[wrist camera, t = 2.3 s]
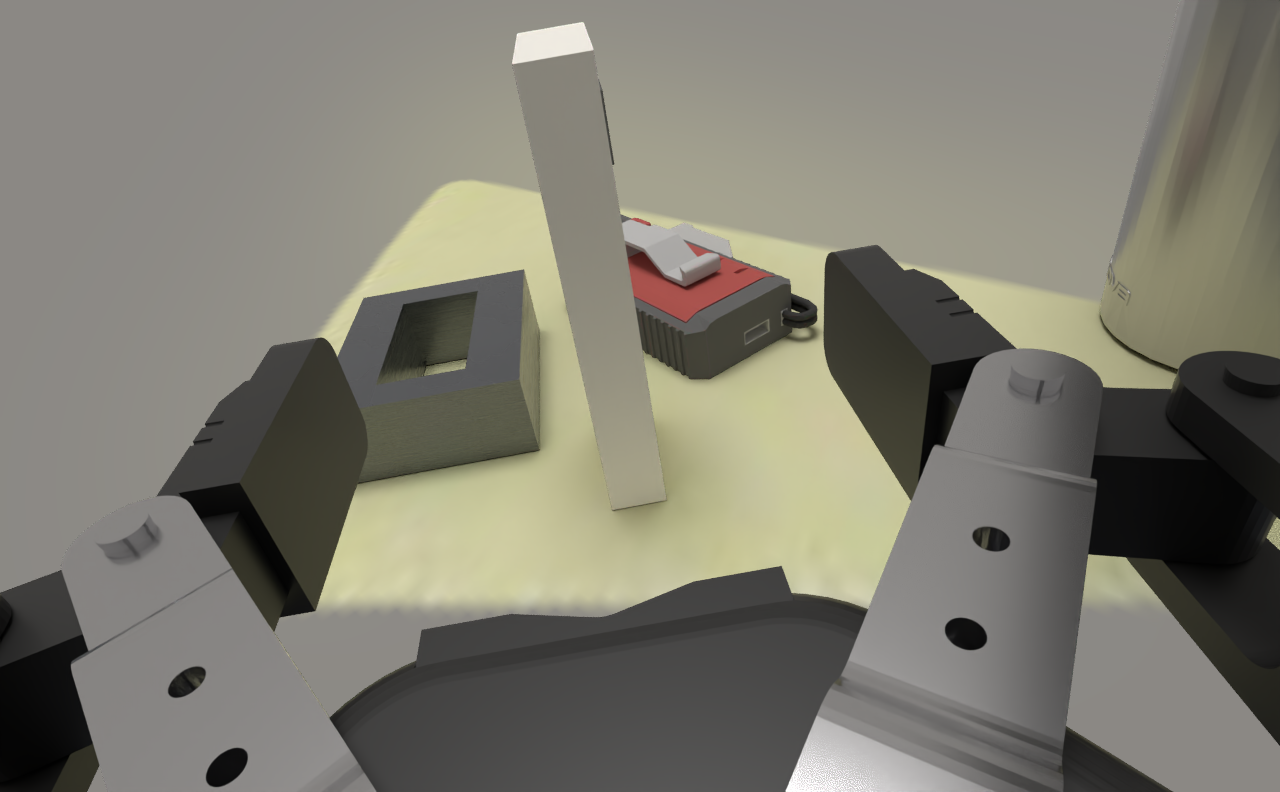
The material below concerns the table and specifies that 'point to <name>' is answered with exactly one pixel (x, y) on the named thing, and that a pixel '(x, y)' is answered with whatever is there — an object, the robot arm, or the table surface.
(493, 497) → the table surface
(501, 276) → the holder
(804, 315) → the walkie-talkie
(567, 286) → the white tall block
